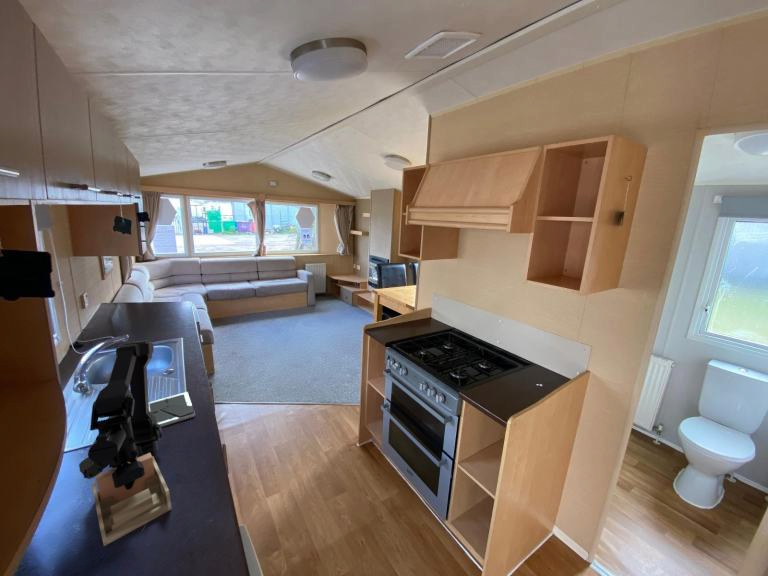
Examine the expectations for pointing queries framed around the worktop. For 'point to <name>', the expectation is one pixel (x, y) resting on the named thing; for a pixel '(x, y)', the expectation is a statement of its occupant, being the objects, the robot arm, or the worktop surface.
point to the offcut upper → (131, 506)
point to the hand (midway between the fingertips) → (128, 485)
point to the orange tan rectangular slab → (122, 493)
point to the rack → (104, 511)
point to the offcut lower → (155, 504)
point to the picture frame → (172, 409)
